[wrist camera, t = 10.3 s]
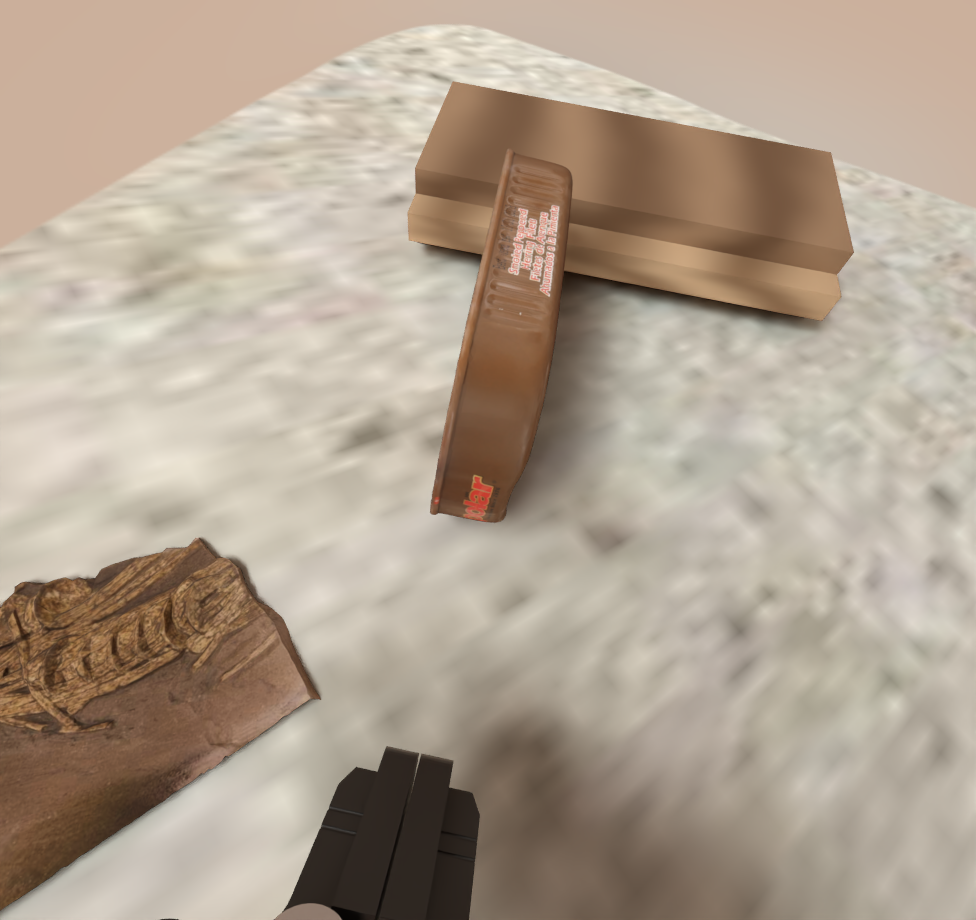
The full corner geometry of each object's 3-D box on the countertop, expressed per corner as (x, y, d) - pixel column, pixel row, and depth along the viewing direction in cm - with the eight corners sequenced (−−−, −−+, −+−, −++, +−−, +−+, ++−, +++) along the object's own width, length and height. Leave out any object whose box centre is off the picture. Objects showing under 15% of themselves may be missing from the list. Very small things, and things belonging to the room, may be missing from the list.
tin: (484, 274, 29) (502, 97, 22) (546, 285, 29) (584, 112, 22) (421, 552, 21) (417, 419, 14) (506, 567, 21) (546, 442, 14)
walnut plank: (789, 219, 33) (831, 152, 30) (807, 339, 28) (858, 275, 25) (450, 154, 34) (452, 81, 30) (409, 261, 29) (406, 187, 25)
